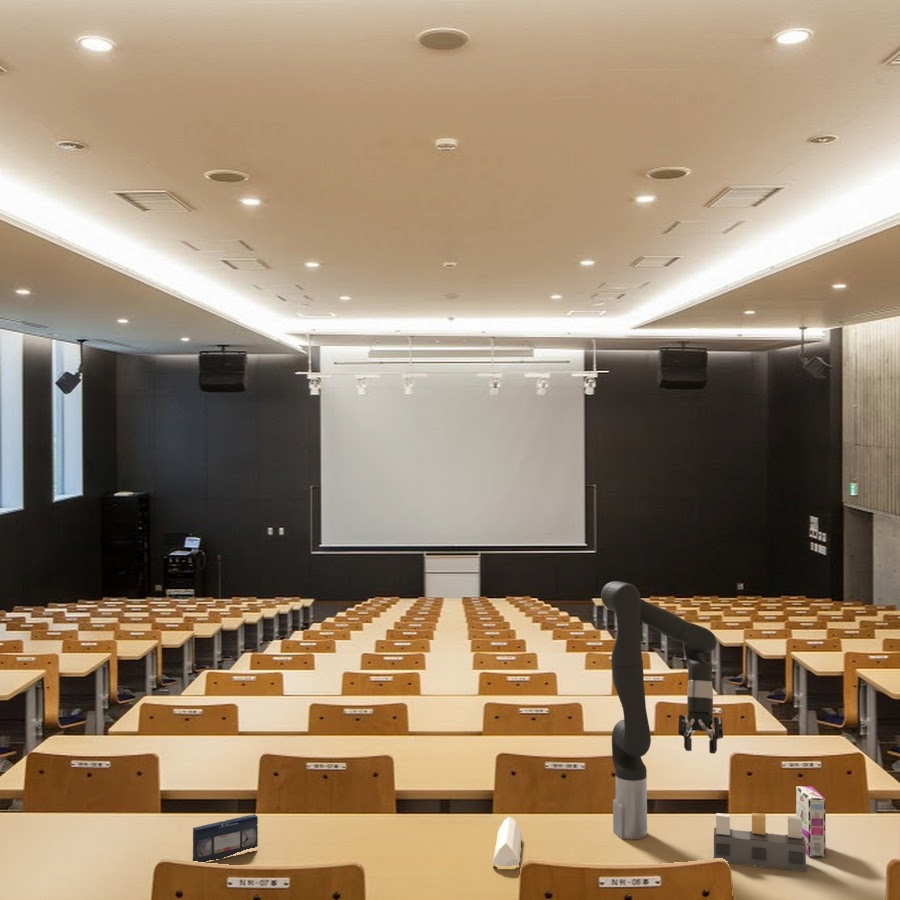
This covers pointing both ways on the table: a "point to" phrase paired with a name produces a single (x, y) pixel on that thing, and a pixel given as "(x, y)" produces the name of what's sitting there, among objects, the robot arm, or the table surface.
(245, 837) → the vhs cassette tape
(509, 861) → the crystal
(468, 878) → the table surface
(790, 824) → the switch right
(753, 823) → the switch middle
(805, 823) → the candy bar box
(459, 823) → the table surface
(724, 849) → the power strip
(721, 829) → the switch left
